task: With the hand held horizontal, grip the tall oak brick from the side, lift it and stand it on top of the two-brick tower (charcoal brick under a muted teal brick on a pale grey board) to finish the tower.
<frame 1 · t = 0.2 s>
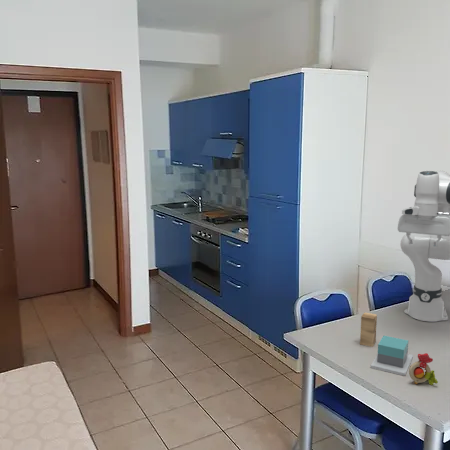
hand: (422, 245, 190), 39 cm above the table, tool pointing down, fingers open, 8 cm apart
oak brick: (367, 343, 190), on the table
brick tower: (392, 362, 174), on the table
bird rattle: (422, 383, 159), on the table
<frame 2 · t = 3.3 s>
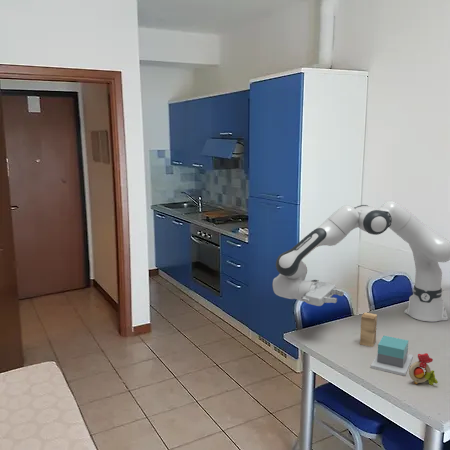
hand: (340, 297, 193), 18 cm above the table, tool horizontal, fingers open, 8 cm apart
nothing on the table moved.
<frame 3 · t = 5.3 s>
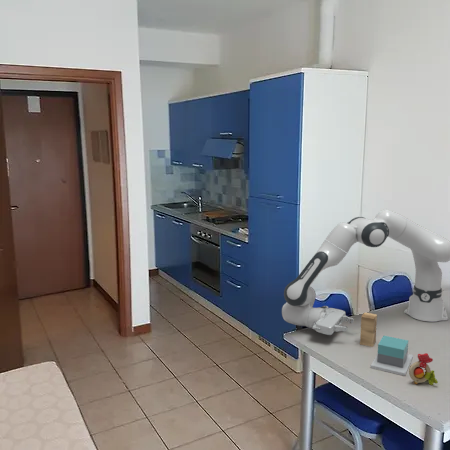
hand: (350, 325, 193), 6 cm above the table, tool horizontal, fingers open, 8 cm apart
nothing on the table moved.
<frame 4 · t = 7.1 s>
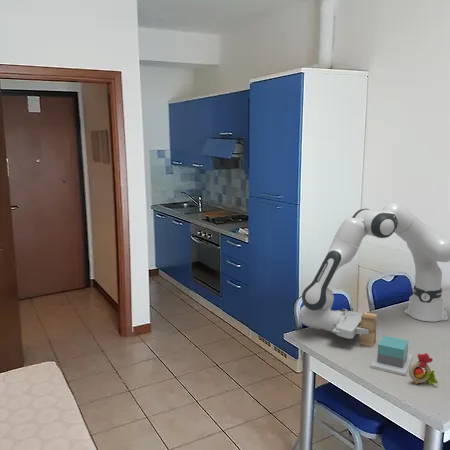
hand: (370, 328, 188), 7 cm above the table, tool horizontal, fingers closed on oak brick, 5 cm apart
oak brick: (367, 343, 190), on the table, touching gripper
everything else where it was.
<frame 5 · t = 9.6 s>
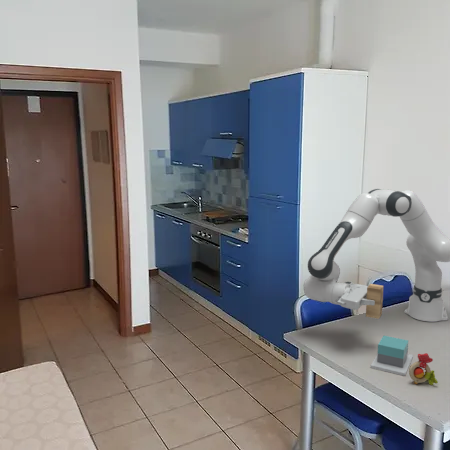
hand: (377, 300, 182), 20 cm above the table, tool horizontal, fingers closed on oak brick, 5 cm apart
oak brick: (373, 315, 184), point 13 cm above the table, touching gripper
everything else where it was.
when the fingers open (16 cm above the table, at t = 11.7 s): oak brick drops 1 cm, resting on brick tower.
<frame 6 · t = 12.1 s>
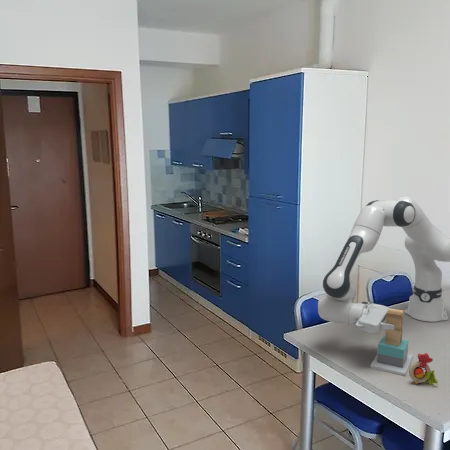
hand: (397, 322, 170), 16 cm above the table, tool horizontal, fingers open, 8 cm apart
oak brick: (393, 342, 172), point 8 cm above the table, touching brick tower
everything else where it was.
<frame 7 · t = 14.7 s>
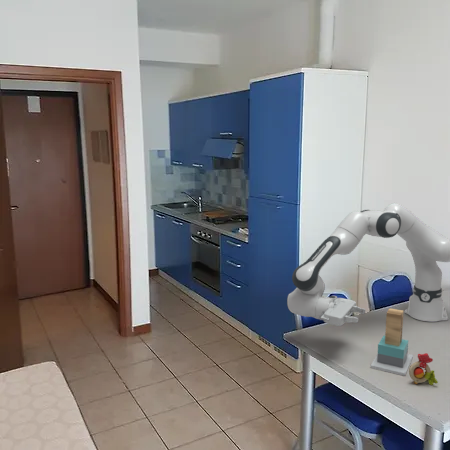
hand: (361, 315, 177), 16 cm above the table, tool horizontal, fingers open, 8 cm apart
nothing on the table moved.
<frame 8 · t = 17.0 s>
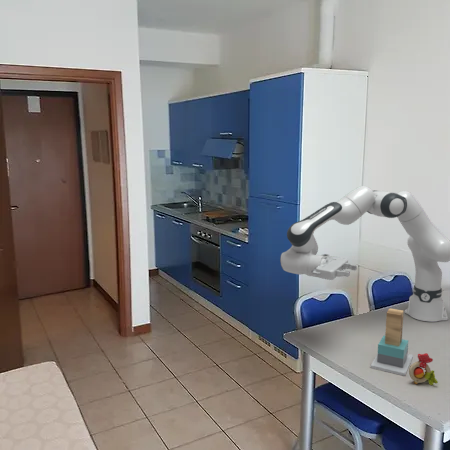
hand: (352, 271, 180), 32 cm above the table, tool horizontal, fingers open, 8 cm apart
nothing on the table moved.
at the end: oak brick inside the target area on the brick tower (0.1 cm from its centre), point 8.0 cm above the brick tower's base; oak brick tilted 0°; the gripper is holding nothing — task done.
